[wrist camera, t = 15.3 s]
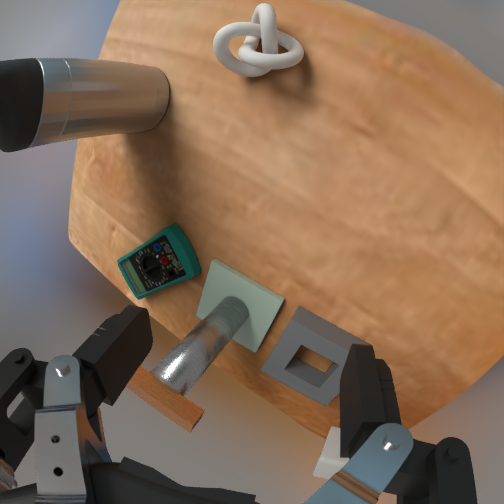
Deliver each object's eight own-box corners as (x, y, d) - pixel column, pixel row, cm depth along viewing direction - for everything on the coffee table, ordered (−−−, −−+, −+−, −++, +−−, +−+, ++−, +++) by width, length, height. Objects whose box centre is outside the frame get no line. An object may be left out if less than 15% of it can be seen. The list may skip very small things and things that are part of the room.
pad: (198, 313, 42) (195, 315, 41) (215, 258, 37) (211, 260, 36) (257, 349, 39) (255, 353, 39) (284, 298, 34) (282, 301, 34)
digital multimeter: (207, 268, 39) (194, 277, 36) (146, 294, 47) (134, 302, 44) (181, 219, 38) (167, 225, 35) (125, 255, 46) (113, 262, 43)
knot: (251, 99, 28) (223, 92, 23) (223, 43, 26) (192, 30, 21) (315, 67, 24) (298, 51, 19) (280, 10, 22) (257, -12, 17)
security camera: (338, 405, 37) (318, 459, 29) (382, 413, 34) (370, 469, 26) (330, 427, 40) (311, 477, 31) (370, 435, 37) (357, 486, 29)
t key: (202, 303, 39) (116, 382, 25) (208, 281, 37) (114, 362, 23) (260, 336, 37) (189, 435, 23) (270, 316, 35) (194, 421, 21)
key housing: (269, 356, 39) (260, 370, 37) (299, 305, 34) (291, 319, 31) (331, 390, 37) (325, 405, 34) (371, 345, 32) (368, 361, 29)
